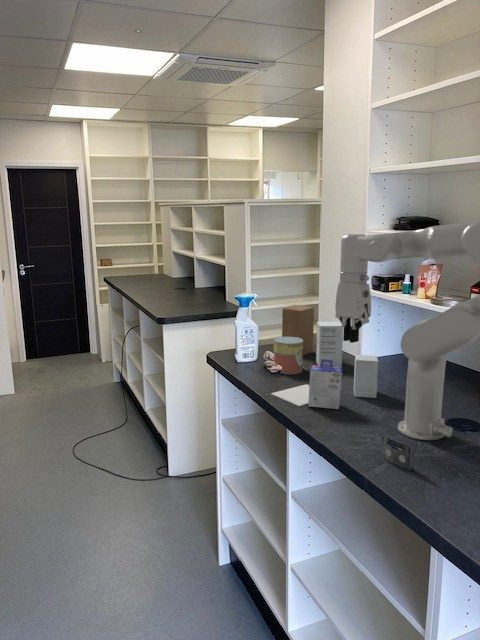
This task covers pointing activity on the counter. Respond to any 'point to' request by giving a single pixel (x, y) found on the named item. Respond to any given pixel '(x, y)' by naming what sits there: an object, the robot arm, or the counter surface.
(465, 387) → the counter surface
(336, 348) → the supplement box
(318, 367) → the ink cartridge box
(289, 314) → the wooden block
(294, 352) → the canned food
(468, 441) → the counter surface
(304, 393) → the mat
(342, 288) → the robot arm
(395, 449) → the mini dv tape
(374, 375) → the supplement box
